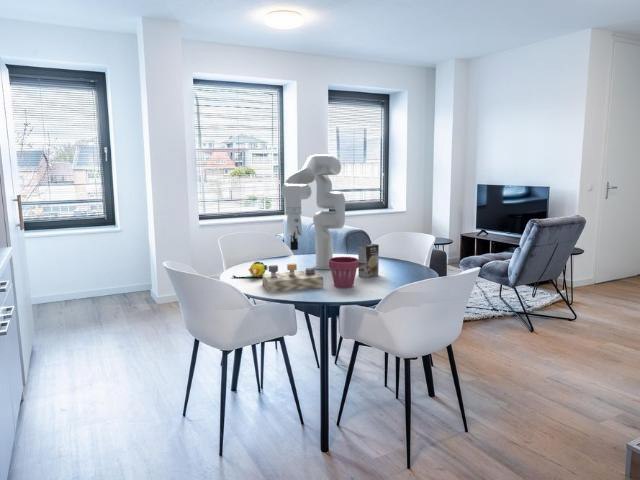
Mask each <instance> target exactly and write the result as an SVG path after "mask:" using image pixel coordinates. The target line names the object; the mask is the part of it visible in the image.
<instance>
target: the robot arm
mask: <svg viewBox="0 0 640 480" xmlns="http://www.w3.org/2000/svg"><path fill="white" fill-rule="evenodd" d="M341 170H342V164H341V162H340V160H339V159H338V158H336V157H335V156H333V155H331V154H312V155H310V156H308V157H307V159H306V161H305V162H304V164H303V165H302V167H301V170H298V171H296V172H294V173H293V174H291V175H290V176H289V177H287V178H286V179H285V181H284V183H283V185H282V187H281V196H282V198H283V199H284V210H285V213H284V214H285V215H286V216H287V217H286V231H287V234H288V235H289V239H290V250H291V251H297V250H299V236H302V235H303V228H302V217H301V215H302V200H308V199H309V198H310V197H311V196H312V188H311V186H310V185H309V184H311V183H313V182H314V181H315V183H316V195H315V197H316V199H315V200H316V207H317V208H319V209H321V210H327V211H317V212H315V213H314V214H313V218H312V221H313V225H314V226H313V227H314V235H315V236H314V238H315V264H313V266H312V268H314V269H315V270H323V271H324V270H331V268H329V259H330V258H334V257H333V256H334V253H333V250H334V249H333V248H334V247H333V235H332V233H331V231H330V230H341V229H343V228H344V226H345V220H346V218H345V217H346V198H345V195H344V194H343V192H341V191H333V188H332V187H333V184H332V183H333V182H332V180H331V178H330V177H329V176H337V175H339V174H340V172H342V171H341ZM328 210H335V211H328Z"/></svg>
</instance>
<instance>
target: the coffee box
mask: <svg viewBox="0 0 640 480" xmlns="http://www.w3.org/2000/svg"><path fill="white" fill-rule="evenodd" d="M357 247H358V251H357V252H358V254H357V255H358V256H357V259H358V262H359V267H358V268H357V270H358V275H357V276H358V277H360V278H366V279H367V278H373V277H376V276H379V266H380V265H379V261H380V260H379V258H380V257H379V256H380V255H379V250H380V249H379V248H380V247H379V244H375V243H365V244H360V245H358V246H357Z"/></svg>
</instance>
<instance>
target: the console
mask: <svg viewBox="0 0 640 480" xmlns="http://www.w3.org/2000/svg"><path fill="white" fill-rule="evenodd" d="M261 279H262V286H263V285H264V286H265V287H264V286H263V287H264V288H265V290H266V291H267V290H268V291H267V292H268V293H277V292H276V291H279V292H286V291H288V290H289V291H297V290H299V291H300V290H308V289H317V288H318V289H319V288H324V276H323V275H321V274H320V273H319V272H317V271H316V270H315V274H313V275H306V270H296V271H294V276H291V277H290V271H288V272H286V271H285V272H276V278H271V273H264V274H262V277H261Z"/></svg>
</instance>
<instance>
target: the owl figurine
mask: <svg viewBox="0 0 640 480" xmlns="http://www.w3.org/2000/svg"><path fill="white" fill-rule="evenodd" d="M248 271H249V272H250V273H249V274H250V275H246V276H247V277H246V278H262V274H266V271H269V266H268V265H266V264H264V262H260V261H255V262H254V263H252V265H250V267H249V268H248ZM234 276H235V275H232V276H231V277H234ZM237 279H240V278H239V277H238V278H237Z"/></svg>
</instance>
